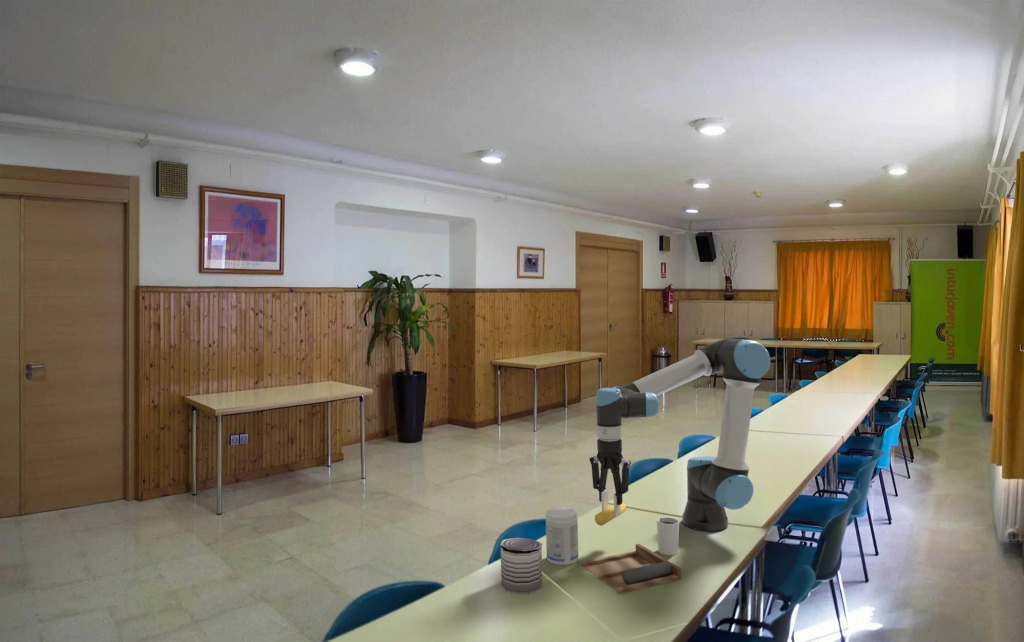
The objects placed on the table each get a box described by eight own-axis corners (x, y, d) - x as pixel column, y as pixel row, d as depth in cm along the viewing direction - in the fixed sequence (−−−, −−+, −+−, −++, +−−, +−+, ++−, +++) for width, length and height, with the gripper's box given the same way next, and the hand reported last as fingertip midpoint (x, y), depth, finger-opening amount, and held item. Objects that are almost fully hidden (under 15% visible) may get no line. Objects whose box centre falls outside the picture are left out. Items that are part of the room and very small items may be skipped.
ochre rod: (621, 515, 207) (613, 506, 209) (628, 507, 206) (620, 499, 207) (600, 528, 196) (592, 519, 197) (607, 520, 194) (599, 511, 196)
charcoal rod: (663, 571, 185) (663, 559, 185) (671, 576, 181) (671, 564, 181) (622, 581, 179) (622, 568, 179) (629, 586, 176) (629, 573, 176)
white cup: (679, 557, 196) (679, 524, 195) (657, 556, 197) (657, 523, 197) (678, 549, 202) (678, 517, 202) (656, 547, 204) (656, 516, 203)
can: (492, 583, 180) (492, 541, 179) (525, 572, 187) (524, 531, 186) (518, 598, 171) (517, 553, 170) (551, 586, 178) (550, 543, 177)
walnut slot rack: (638, 554, 198) (638, 543, 198) (680, 580, 180) (680, 568, 180) (581, 566, 190) (581, 555, 190) (619, 594, 172) (619, 582, 172)
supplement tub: (570, 552, 201) (569, 505, 201) (583, 563, 192) (583, 514, 192) (541, 556, 198) (540, 509, 197) (553, 569, 189) (553, 519, 188)
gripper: (579, 438, 202) (581, 512, 203) (628, 444, 193) (630, 522, 194) (591, 433, 209) (593, 505, 209) (639, 439, 199) (640, 514, 200)
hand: (611, 513), depth 202 cm, fingers closed on ochre rod, 3 cm apart
